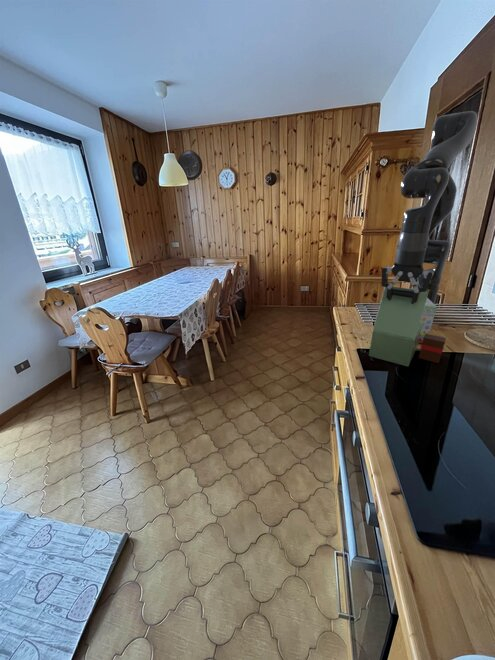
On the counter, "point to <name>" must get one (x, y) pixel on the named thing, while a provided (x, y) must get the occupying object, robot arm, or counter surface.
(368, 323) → the counter surface
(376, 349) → the bin
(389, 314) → the bin lid
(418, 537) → the counter surface
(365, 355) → the counter surface
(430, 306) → the snack box
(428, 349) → the chocolate
